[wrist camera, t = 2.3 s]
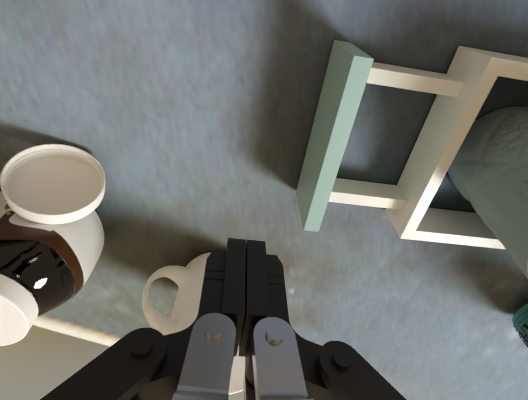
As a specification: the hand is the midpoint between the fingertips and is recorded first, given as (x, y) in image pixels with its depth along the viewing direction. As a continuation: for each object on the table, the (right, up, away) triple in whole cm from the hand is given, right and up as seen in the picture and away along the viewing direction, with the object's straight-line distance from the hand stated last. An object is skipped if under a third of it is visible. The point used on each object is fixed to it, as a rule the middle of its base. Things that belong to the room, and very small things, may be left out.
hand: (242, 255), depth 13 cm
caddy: (+17, +7, +15) cm, 23 cm away
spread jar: (-18, +3, +17) cm, 25 cm away
